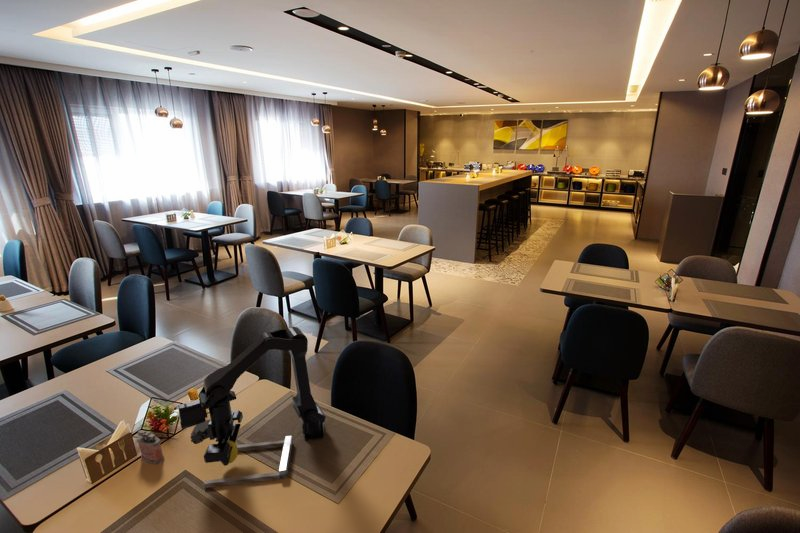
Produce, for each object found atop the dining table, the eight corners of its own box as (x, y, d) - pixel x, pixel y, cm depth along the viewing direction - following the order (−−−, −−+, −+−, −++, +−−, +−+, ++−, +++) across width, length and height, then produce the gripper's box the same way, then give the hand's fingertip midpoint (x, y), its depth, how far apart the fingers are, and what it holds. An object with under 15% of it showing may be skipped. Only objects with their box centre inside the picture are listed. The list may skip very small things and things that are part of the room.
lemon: (232, 471, 116) (228, 449, 114) (215, 468, 117) (211, 446, 115) (242, 457, 121) (239, 436, 119) (227, 454, 123) (223, 433, 120)
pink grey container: (167, 457, 123) (161, 431, 120) (157, 465, 120) (151, 439, 117) (148, 451, 126) (142, 426, 123) (138, 459, 123) (131, 433, 120)
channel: (292, 443, 129) (291, 435, 128) (286, 478, 115) (285, 470, 114) (219, 450, 126) (218, 443, 125) (204, 487, 112) (203, 479, 111)
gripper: (202, 397, 122) (210, 438, 127) (179, 440, 104) (189, 486, 109) (239, 394, 123) (246, 434, 128) (222, 436, 106) (231, 481, 110)
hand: (228, 457), depth 119 cm, fingers closed on lemon, 5 cm apart
